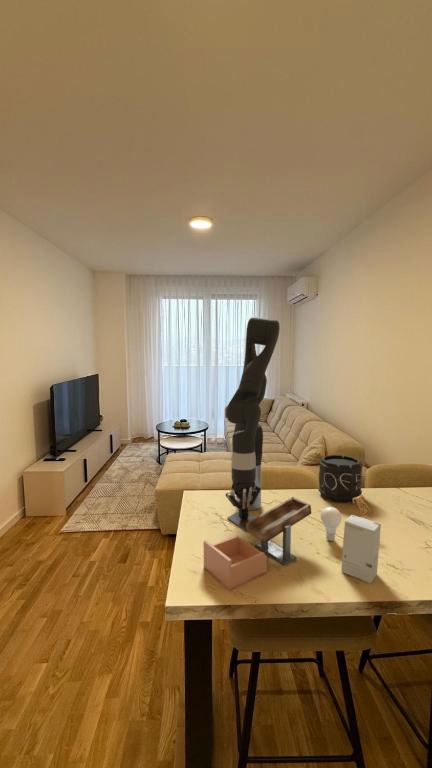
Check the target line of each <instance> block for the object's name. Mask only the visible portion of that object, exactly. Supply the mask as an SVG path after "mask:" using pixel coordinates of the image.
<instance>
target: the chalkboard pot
mask: <svg viewBox="0 0 432 768" xmlns="http://www.w3.org/2000/svg"><path fill="white" fill-rule="evenodd" d="M318 466H319V471H318V483H319V484H318V486H319V487H318V489H317V490H318V492H320V496H322V497H323V498H324V499H325V500H328V501H332V502H334V503H338V504H339V503H341V504H351V503H353V499H352V498H355V497H359V496H360V495H363V494H362V492H363V491H362V485H363V467H364V466H363V464H362V462H361V460H360V459H358V458H356V457H353V456H349V455H344V456H343V455H342V454H330V455H324V456H322V458H321V460H320V461H319V463H318ZM354 503H357V502H356V499H354Z"/></svg>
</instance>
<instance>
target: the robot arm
mask: <svg viewBox="0 0 432 768" xmlns="http://www.w3.org/2000/svg"><path fill="white" fill-rule="evenodd" d="M280 329H281V328H280V322H279V321H278V320H276V319H272V318H267V317H259V316H258V317H257V316H251V317H250V318H249V319H248V321H247V326H246V333H245V349H244V350H245V351H244V364H243V369H242V370H243V371H242V374H241V377H240V381H239V384H238V385H239V386H238V388H237V390H236V391H235V393H234V394H233V397H232V398H231V400H230V401H229V402H228V403H227V404H228V405H227V408H226V412H225V415H226V419H227V420H228V422H230V423H231V424H235V425H234V430H233V434H232V438H231V441H232V443H231V444H232V445H231V446H232V450H231V451H232V452H231V481H232V485H231V490H230V491H229V493H228V492H227V493H226V494H225V497H226V499H228V501H229V502H230V503H231V504H232V506H233V507H234V508H236V509H238V511H239V518H240V519H242V520H243V521H244V520H247V519H248V516H249V514H250V513H249V511H255V510H258V509H259V510H260V508H262V460H263V459H262V458H263V447H264V430H263V427H262V425H261V424H260V421H261V417H262V416H261V415H262V411H261V406H260V404H261V403H262V401H263V400H264V398H265V397H266V390H267V384H268V380H267V376H266V371H267V368H268V366H269V365H270V362H271V359H272V356H273V353H274V351H275V349H276V345H277V343H278V339H279V335H280ZM256 345H260V346H264V348H263V349H262V351H261V352H260V353H259V354H258V355H257V351H256Z"/></svg>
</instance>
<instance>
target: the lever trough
mask: <svg viewBox="0 0 432 768" xmlns="http://www.w3.org/2000/svg"><path fill="white" fill-rule="evenodd" d="M311 505H312V504H310V503H308V502H305V501H302V500H300V499H298V498H296V497H294V496H291V497H289V498H288V499H286V500H284V501H283V502H281V503H279V504H278V505H275V506H274V507H272V508H270V509H269V510H267V511H265V512H264V513H261V514H262V515H261V514H260V515H258V516H257V517H255V516H253V515H251V514H250V513H248V514H249V516H248V519H247V520H244V521H243V520H242V519H240V518H239V510H238V511H237V512H234V513H233V514H231V515H230V516H228V517H227V518H226V519H227V521H228V522H230V523H231V524H233V525H235V527H237V528H239V529H241V530H242V531H244V532H246V533H247V534H249V535H250V536H252V537H254V538H255V539H257V540H259V541H262V542H263V543H266V542H268V541H269V540H270V541H272V539H274V538H275V537H277V536H279V535H280V534H283V526H284V525H287V524H289V525H290V526H291V527H293V526H294V525H296V524H297V523H299V522H301V521H302V520H303V519H305V518H307V517H308V516H310V515H311V514H312V507H311Z"/></svg>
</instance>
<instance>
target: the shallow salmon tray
mask: <svg viewBox="0 0 432 768" xmlns="http://www.w3.org/2000/svg"><path fill="white" fill-rule="evenodd" d="M267 557H268V556H267V554H266V553H264V552H263V551H261V550H260V549H258V548H257V547H255V546H253V545H251V544H250V543H248V542H247V541H245V540H244V539H242V538H241V537H240V535H234V536H232V537H229V538H226V539H224V540H221V541H218V542H216V543H213V544H211V542H209V541H208V540H207V539H205V540H203V569H204V570H206V572H208V573H209V574H210V575H211V576H212V577H213V578H214V579H215V580H217V582H219V584H221V585H222V584H223V585H224V586H223V585H222V586H223V587H225V588H226V590H228V591H231V590H234V589H235V588H236V589H237V588H238V587H239V586H243V585H244V584H246V583H248V582H250V581H252V580H255V579H257V578H259V577H261V576H264V575H265V574H267V573H268V572H267V569H268V565H267V564H268V563H267V562H268V560H267V559H268V558H267ZM233 588H234V589H233Z"/></svg>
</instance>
